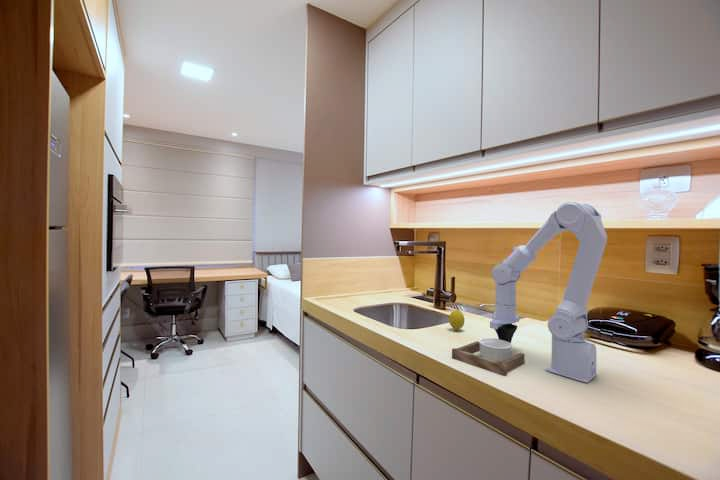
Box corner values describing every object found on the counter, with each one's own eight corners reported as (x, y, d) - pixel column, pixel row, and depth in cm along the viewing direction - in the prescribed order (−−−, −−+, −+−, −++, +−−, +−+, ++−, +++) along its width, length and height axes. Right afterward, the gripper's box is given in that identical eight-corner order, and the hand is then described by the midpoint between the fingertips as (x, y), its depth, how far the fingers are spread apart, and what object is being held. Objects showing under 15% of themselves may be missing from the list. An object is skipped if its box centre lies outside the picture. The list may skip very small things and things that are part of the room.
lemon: (462, 328, 123) (462, 308, 123) (465, 332, 117) (466, 311, 117) (447, 328, 124) (448, 307, 124) (450, 332, 118) (450, 310, 118)
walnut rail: (526, 363, 89) (526, 354, 89) (504, 375, 81) (504, 365, 81) (475, 348, 101) (475, 340, 101) (451, 357, 93) (452, 349, 93)
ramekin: (505, 352, 97) (505, 338, 97) (516, 363, 89) (516, 348, 88) (475, 351, 98) (475, 337, 98) (483, 362, 89) (484, 347, 89)
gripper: (504, 299, 105) (503, 340, 105) (480, 304, 95) (480, 349, 95) (526, 302, 99) (525, 346, 99) (503, 308, 90) (503, 356, 90)
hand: (504, 348), depth 97 cm, fingers closed
